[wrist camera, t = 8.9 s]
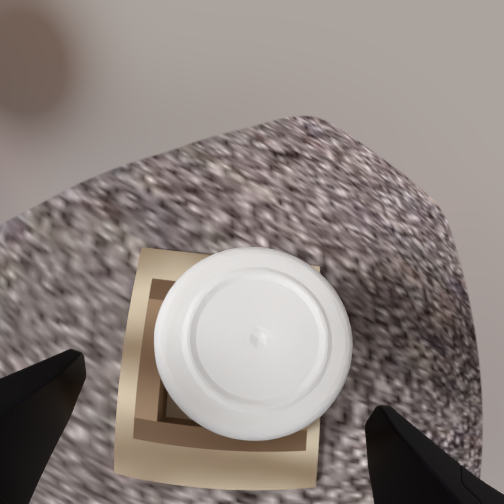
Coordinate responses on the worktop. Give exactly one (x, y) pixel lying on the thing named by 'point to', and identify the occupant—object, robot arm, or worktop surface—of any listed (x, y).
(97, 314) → the worktop surface
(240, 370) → the sprinkles bottle
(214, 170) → the worktop surface
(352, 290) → the worktop surface
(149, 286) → the bottle stand
